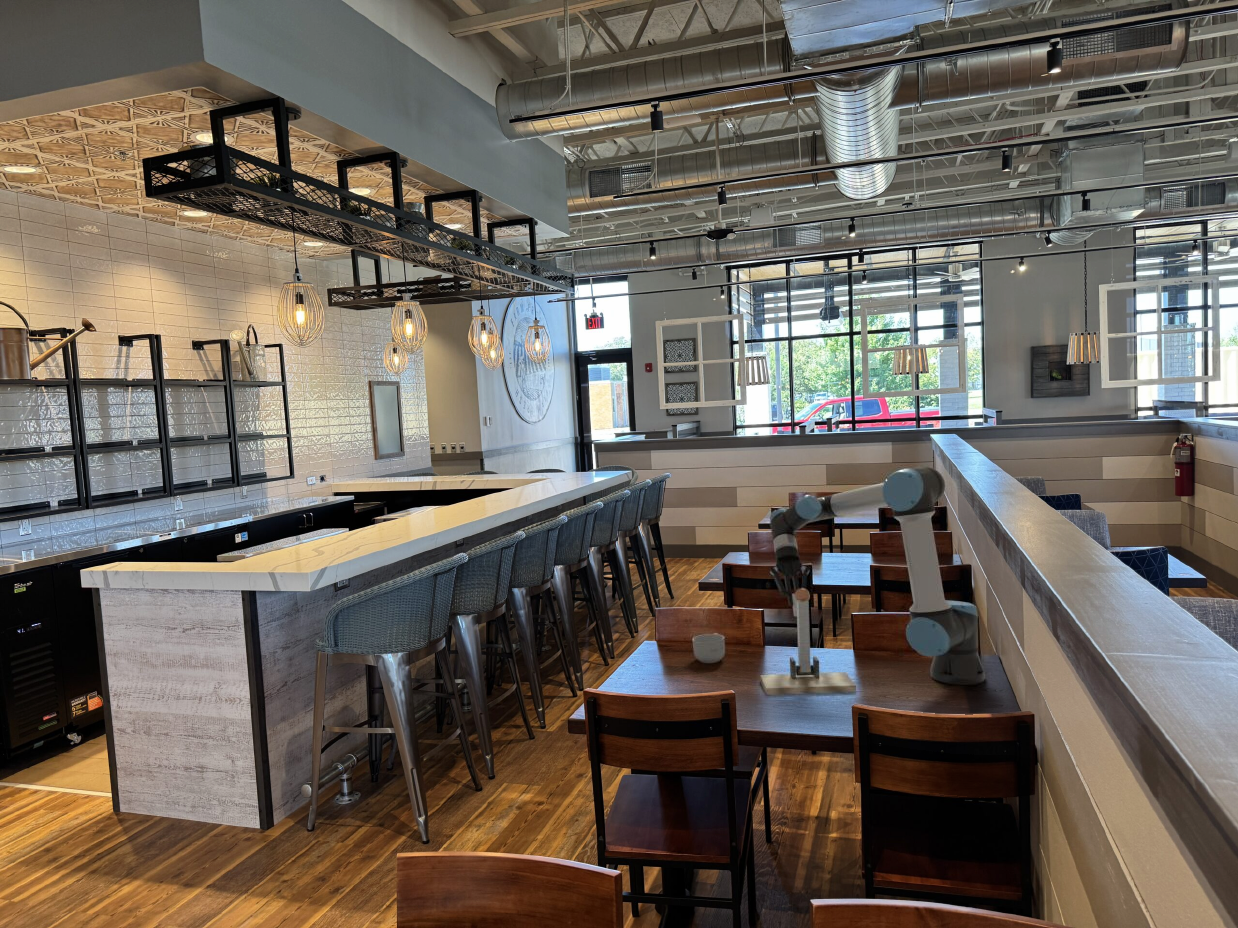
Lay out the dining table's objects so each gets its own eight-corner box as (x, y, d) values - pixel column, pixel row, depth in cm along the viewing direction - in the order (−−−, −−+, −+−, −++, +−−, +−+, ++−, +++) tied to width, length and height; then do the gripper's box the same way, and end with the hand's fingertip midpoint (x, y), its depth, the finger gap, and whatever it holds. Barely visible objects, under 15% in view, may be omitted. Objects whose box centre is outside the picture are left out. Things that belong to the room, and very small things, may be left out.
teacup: (714, 667, 264) (714, 643, 264) (686, 662, 271) (685, 638, 271) (735, 656, 275) (735, 633, 275) (708, 651, 282) (707, 629, 282)
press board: (845, 678, 248) (845, 654, 248) (856, 691, 236) (855, 666, 236) (760, 681, 249) (759, 657, 248) (766, 694, 237) (765, 669, 236)
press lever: (811, 672, 247) (809, 586, 246) (814, 677, 243) (812, 589, 241) (795, 673, 248) (792, 586, 246) (797, 677, 243) (795, 589, 242)
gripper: (805, 557, 269) (816, 619, 253) (765, 558, 269) (774, 620, 253) (807, 543, 263) (819, 606, 247) (767, 545, 263) (776, 608, 248)
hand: (797, 613), depth 250 cm, fingers closed
